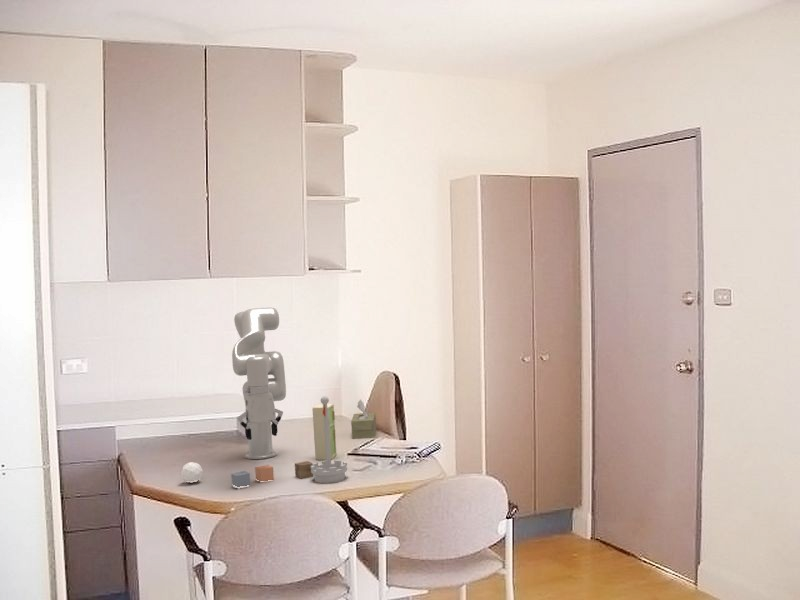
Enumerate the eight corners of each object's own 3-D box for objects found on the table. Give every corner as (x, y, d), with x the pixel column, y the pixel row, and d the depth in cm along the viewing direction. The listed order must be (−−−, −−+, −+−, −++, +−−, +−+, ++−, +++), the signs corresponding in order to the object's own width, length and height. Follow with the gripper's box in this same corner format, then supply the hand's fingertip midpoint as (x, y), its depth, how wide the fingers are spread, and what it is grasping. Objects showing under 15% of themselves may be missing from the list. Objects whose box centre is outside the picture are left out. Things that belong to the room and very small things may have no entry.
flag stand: (315, 475, 332) (310, 394, 331) (350, 473, 331) (345, 392, 329) (308, 484, 319) (302, 400, 318) (344, 482, 318) (339, 398, 316)
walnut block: (295, 476, 332) (294, 463, 332) (308, 474, 334) (307, 460, 334) (300, 479, 328) (300, 465, 327) (313, 476, 330) (312, 463, 330)
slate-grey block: (232, 487, 322) (231, 473, 322) (245, 484, 325) (244, 470, 324) (237, 489, 318) (236, 475, 317) (250, 487, 320) (249, 473, 320)
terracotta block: (255, 480, 330) (255, 467, 329) (268, 478, 332) (267, 464, 332) (260, 483, 325) (260, 469, 325) (273, 480, 328) (273, 467, 327)
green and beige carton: (333, 460, 355) (329, 407, 354) (315, 460, 357) (311, 407, 356) (338, 455, 363) (335, 403, 362) (321, 455, 364) (317, 404, 363)
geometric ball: (187, 491, 331) (174, 473, 332) (204, 478, 336) (191, 461, 337) (192, 484, 326) (179, 466, 327) (209, 472, 331) (196, 454, 332)
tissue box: (355, 431, 413) (352, 396, 412) (376, 429, 412) (374, 395, 412) (352, 439, 394) (349, 403, 393) (374, 438, 394) (372, 402, 393)
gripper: (239, 394, 319) (242, 442, 320) (284, 388, 328) (288, 435, 328) (232, 392, 326) (235, 439, 326) (276, 386, 334) (280, 432, 335)
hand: (261, 437), depth 327 cm, fingers open, 9 cm apart
